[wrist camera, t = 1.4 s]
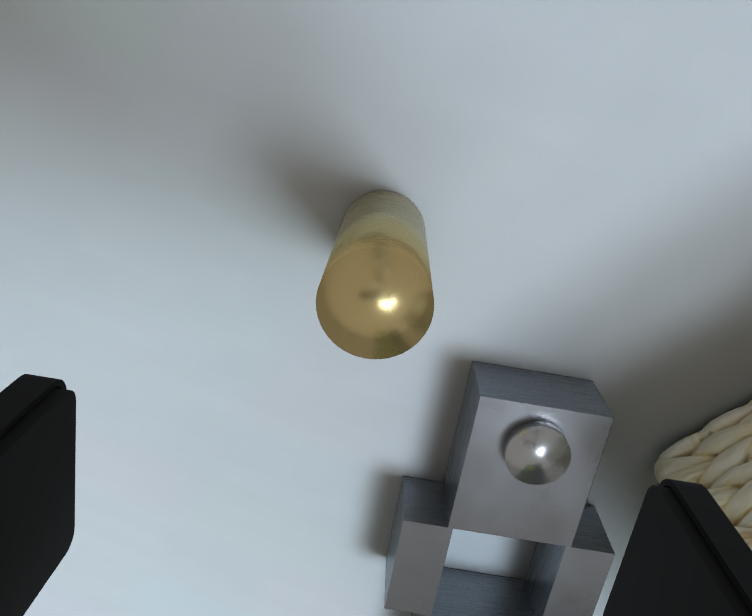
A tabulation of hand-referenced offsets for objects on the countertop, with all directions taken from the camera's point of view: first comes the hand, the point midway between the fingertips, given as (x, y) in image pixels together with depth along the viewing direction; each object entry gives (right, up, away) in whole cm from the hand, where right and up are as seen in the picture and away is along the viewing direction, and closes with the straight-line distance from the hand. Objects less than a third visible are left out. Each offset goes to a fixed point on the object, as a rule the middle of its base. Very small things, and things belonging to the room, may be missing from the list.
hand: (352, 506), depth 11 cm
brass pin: (+1, +6, +15) cm, 16 cm away
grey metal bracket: (+5, -7, +20) cm, 22 cm away
